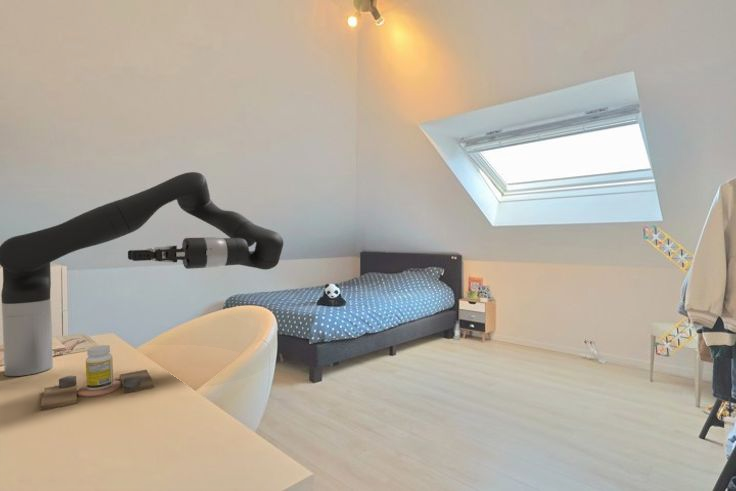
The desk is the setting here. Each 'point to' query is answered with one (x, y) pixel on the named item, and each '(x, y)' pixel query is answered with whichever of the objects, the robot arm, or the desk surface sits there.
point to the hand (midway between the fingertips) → (129, 255)
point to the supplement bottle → (99, 367)
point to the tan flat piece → (69, 392)
